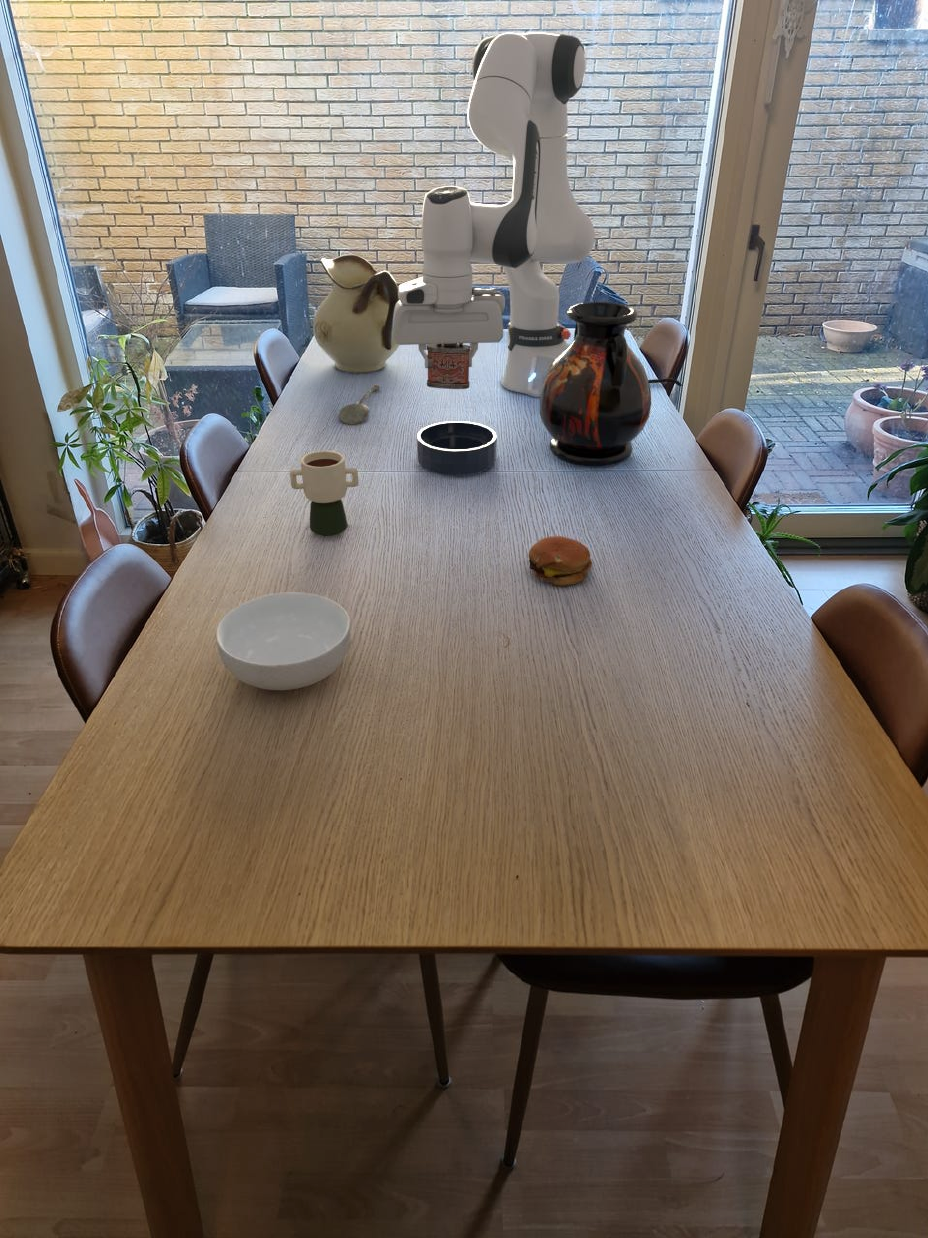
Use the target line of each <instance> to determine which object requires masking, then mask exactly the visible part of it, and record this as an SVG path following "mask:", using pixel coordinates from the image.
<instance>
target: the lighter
mask: <svg viewBox="0 0 928 1238" xmlns="http://www.w3.org/2000/svg"><path fill="white" fill-rule="evenodd" d="M426 345H427V349H426V351H427V355H428V358H432V359H433V363H432V364H433V368H427V379H426V387H428V388H433V389H443V390H468V389H469V388H470V381H469V380H470V367H469V352H470V350H471V348H470V345H468V344H464V343H457V344H426Z"/></svg>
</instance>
